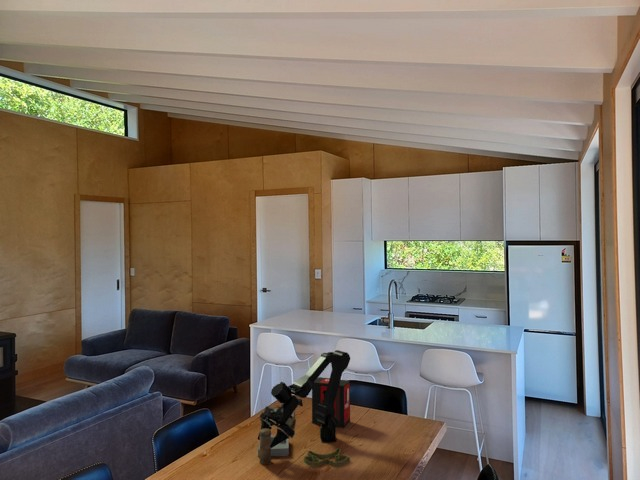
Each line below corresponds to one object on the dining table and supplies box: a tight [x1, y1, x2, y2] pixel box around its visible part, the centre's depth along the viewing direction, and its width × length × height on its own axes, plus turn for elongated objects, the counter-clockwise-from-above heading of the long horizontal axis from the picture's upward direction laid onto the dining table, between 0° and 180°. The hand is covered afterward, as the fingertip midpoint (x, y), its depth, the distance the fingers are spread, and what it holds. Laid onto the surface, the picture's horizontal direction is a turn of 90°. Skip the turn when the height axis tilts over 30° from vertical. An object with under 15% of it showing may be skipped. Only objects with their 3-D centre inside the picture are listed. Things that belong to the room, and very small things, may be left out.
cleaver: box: [286, 411, 296, 429], centre depth 222 cm, size 30×10×2 cm, turn 5°
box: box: [257, 435, 290, 458], centre depth 189 cm, size 12×12×3 cm
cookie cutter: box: [303, 447, 351, 468], centre depth 180 cm, size 18×12×2 cm, turn 100°
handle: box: [258, 428, 272, 466], centre depth 178 cm, size 5×5×12 cm
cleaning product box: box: [311, 376, 351, 429], centre depth 218 cm, size 16×9×20 cm, turn 67°
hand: (264, 443), depth 178 cm, fingers open, 9 cm apart
